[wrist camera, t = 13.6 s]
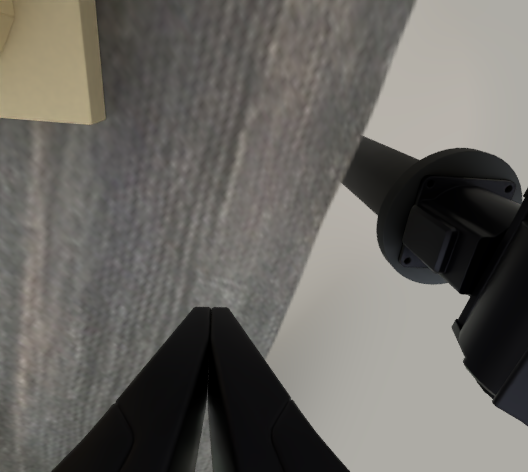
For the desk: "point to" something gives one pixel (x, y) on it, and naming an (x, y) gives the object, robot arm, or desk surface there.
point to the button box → (50, 61)
